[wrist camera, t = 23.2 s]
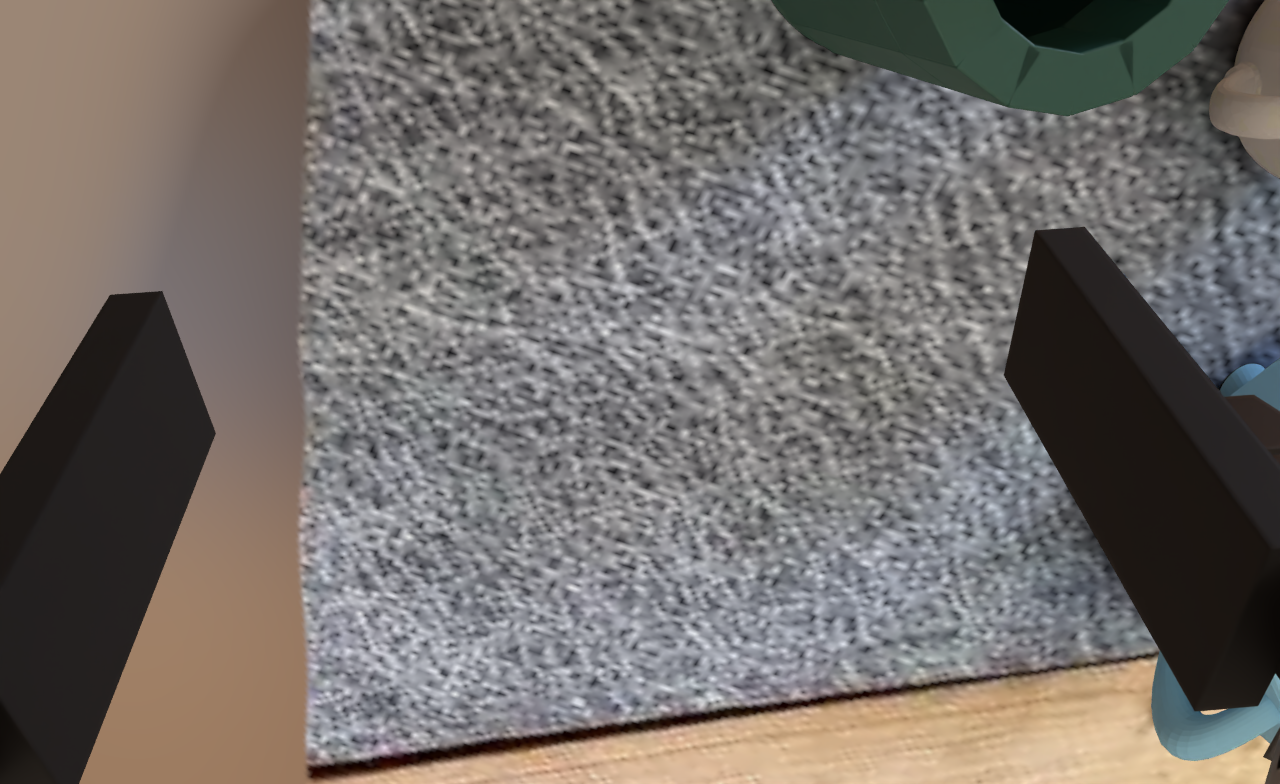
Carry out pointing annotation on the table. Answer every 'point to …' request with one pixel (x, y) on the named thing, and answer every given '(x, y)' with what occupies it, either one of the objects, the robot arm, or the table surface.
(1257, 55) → the teacup
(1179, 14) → the green plastic cup
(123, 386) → the robot arm
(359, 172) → the table surface
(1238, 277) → the table surface
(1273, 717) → the teakettle
